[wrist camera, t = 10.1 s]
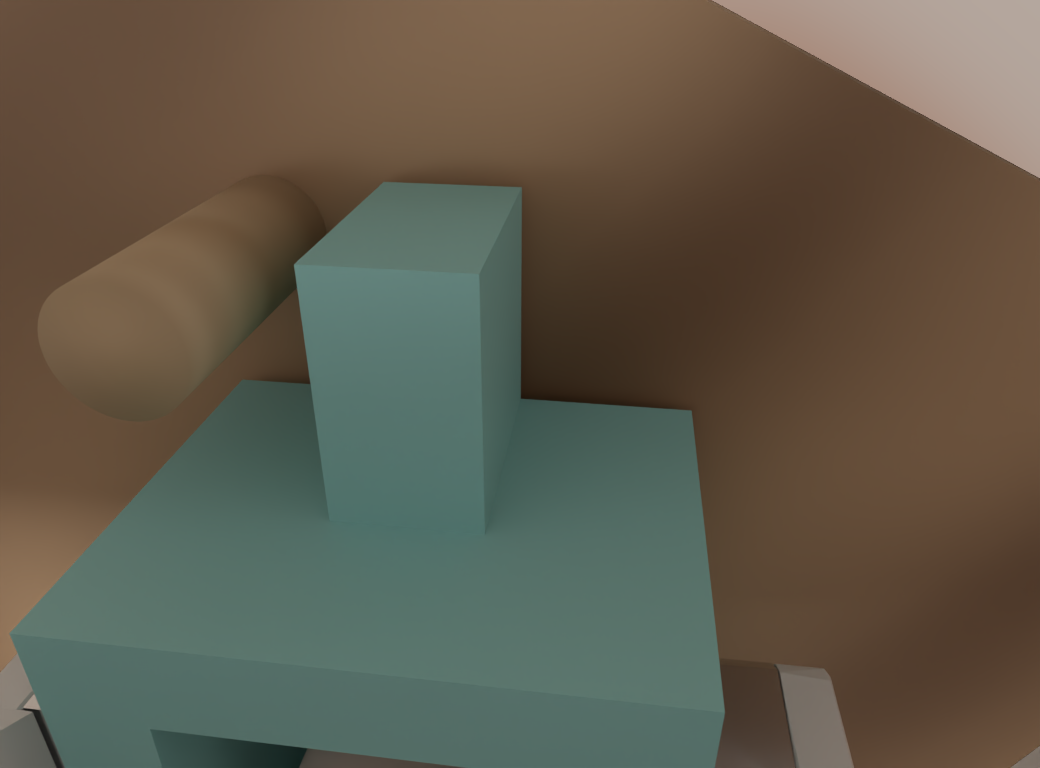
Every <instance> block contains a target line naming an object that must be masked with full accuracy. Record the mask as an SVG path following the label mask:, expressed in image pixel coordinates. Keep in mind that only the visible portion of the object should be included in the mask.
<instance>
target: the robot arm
mask: <svg viewBox="0 0 1040 768" xmlns="http://www.w3.org/2000/svg"><path fill="white" fill-rule="evenodd" d="M719 663H720V672H721V681H722V690H723V699H724V708H725V715H724V721H723V726H722V731H721V737H720V742H719V747H718V753H717V758H716V763H715V768H854V766H853V762H852V758H851V754H850V750H849V746H848V743H847V739H846V735H845V731H844V727H843V723H842V719H841V716H840V712H839V708H838V704H837V700H836V696H835V692H834V688H833V685H832V681H831V677H830V676H829V674H828V673H827V672H826V670H825V669H823V668H813V667H803V666H793V665H783V664H774V665H773V664H772V663H766V662H756V661H745V660H735V659H724V658H719ZM0 768H65V767H64V764H63V762H62V759H61V757H60V755H59V752H58V750H57V747H56V745H55V742H54V740H53V738H52V735H51V733H50V730H49V728H48V726H47V723H46V721H45V718H44V716H43V714H42V711H41V709H40V706H39V704H38V702H37V699H36V697H35V694H34V692H33V690H32V687H31V685H30V682H29V680H28V677H27V675H26V673H25V670H24V668H23V665H22V663H21V661H20V658H19V656H18V653H17V654H16V655H15V656H14V658H13V659H12V660H11V661H10V662H9V663H8V664H7V665H6V667H5V668H4V669H3V670H2V671H1V672H0Z"/></svg>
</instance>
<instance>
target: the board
mask: <svg viewBox="0 0 1040 768" xmlns="http://www.w3.org/2000/svg"><path fill="white" fill-rule="evenodd" d="M383 182H400V183H426V184H451V185H477V186H503V187H522V265H521V399H532V400H546V401H561V402H575V403H590V404H604V405H619V406H633V407H648V408H662V409H676V410H691V411H692V418H693V427H694V436H695V445H696V454H697V463H698V473H699V482H700V491H701V500H702V509H703V518H704V527H705V536H706V545H707V554H708V563H709V572H710V581H711V590H712V599H713V608H714V618H715V627H716V636H717V645H718V654H719V658H724V659H735V660H745V661H756V662H766V663H772V664H773V665H774V664H783V665H793V666H803V667H813V668H823V669H825V670H826V672H827V673H828V674H829V676H830V677H831V681H832V685H833V688H834V692H835V696H836V700H837V704H838V708H839V712H840V716H841V719H842V723H843V727H844V731H845V735H846V739H847V743H848V746H849V750H850V754H851V758H852V762H853V766H854V768H1010V767H1012V766H1013V765H1014V764H1016V763H1017V762H1018V761H1020V760H1021V759H1022V758H1024V757H1025V756H1026V755H1028V754H1029V753H1031V752H1032V751H1033V750H1035V749H1036V748H1037V747H1039V746H1040V178H1038V177H1036V176H1034V175H1032V174H1030V173H1029V172H1027V171H1025V170H1023V169H1021V168H1019V167H1018V166H1016V165H1014V164H1012V163H1010V162H1008V161H1007V160H1004V159H1003V158H1001V157H999V156H997V155H995V154H993V153H992V152H990V151H988V150H986V149H984V148H982V147H981V146H979V145H977V144H975V143H973V142H971V141H970V140H968V139H966V138H964V137H962V136H961V135H959V134H957V133H955V132H953V131H951V130H949V129H948V128H946V127H944V126H942V125H940V124H938V123H937V122H935V121H933V120H931V119H929V118H927V117H926V116H924V115H922V114H920V113H918V112H916V111H914V110H913V109H911V108H909V107H907V106H905V105H903V104H901V103H900V102H898V101H896V100H894V99H892V98H891V97H889V96H886V95H885V94H883V93H881V92H879V91H878V90H876V89H874V88H872V87H870V86H868V85H866V84H865V83H863V82H861V81H859V80H857V79H856V78H853V77H852V76H850V75H848V74H846V73H844V72H843V71H841V70H839V69H837V68H835V67H833V66H832V65H830V64H828V63H826V62H824V61H822V60H821V59H819V58H817V57H815V56H813V55H811V54H809V53H808V52H806V51H804V50H802V49H800V48H798V47H796V46H795V45H793V44H791V43H789V42H787V41H786V40H783V39H782V38H780V37H778V36H776V35H774V34H773V33H771V32H769V31H767V30H765V29H763V28H762V27H760V26H758V25H756V24H754V23H752V22H751V21H748V20H746V19H745V18H743V17H741V16H739V15H738V14H736V13H734V12H732V11H730V10H728V9H727V8H725V7H723V6H721V5H719V4H717V3H716V2H714V1H712V0H0V672H1V671H2V670H3V669H4V668H5V667H6V665H7V664H8V663H9V662H10V661H11V660H12V659H13V658H14V656H15V655H16V654H17V651H16V649H15V646H14V644H13V641H12V639H11V637H10V634H9V633H10V632H11V631H12V630H13V629H14V628H15V627H16V626H17V625H18V624H19V622H20V621H21V620H22V619H23V618H24V617H25V616H26V615H27V614H28V613H29V612H30V610H31V609H32V608H33V607H34V606H35V605H36V604H37V603H38V602H39V601H40V600H41V598H42V597H43V596H44V595H45V594H46V593H47V592H48V591H49V590H50V589H51V588H52V586H53V585H54V584H55V583H56V582H57V581H58V580H59V579H60V578H61V577H62V576H63V575H64V573H65V572H66V571H67V570H68V569H69V568H70V567H71V566H72V565H73V564H74V563H75V561H76V560H77V559H78V558H79V557H80V556H81V555H82V554H83V553H84V552H85V551H86V549H87V548H88V547H89V546H90V545H91V544H92V543H93V542H94V541H95V540H96V539H97V537H98V536H99V535H100V534H101V533H102V532H103V531H104V530H105V529H106V528H107V527H108V525H109V524H110V523H111V522H112V521H113V520H114V519H115V518H116V517H117V516H118V515H119V513H120V512H121V511H122V510H123V509H124V508H125V507H126V506H127V505H128V504H129V503H130V502H131V500H132V499H133V498H134V497H135V496H136V495H137V494H138V493H139V492H140V491H141V490H142V488H143V487H144V486H145V485H146V484H147V483H148V482H149V481H150V480H151V479H152V478H153V476H154V475H155V474H156V473H157V472H158V471H159V470H160V469H161V468H162V467H163V466H164V464H165V463H166V462H167V461H168V460H169V459H170V458H171V457H172V456H173V455H174V454H175V452H176V451H177V450H178V449H179V448H180V447H181V446H182V445H183V444H184V443H185V442H186V441H187V439H188V438H189V437H190V436H191V435H192V434H193V433H194V432H195V431H196V430H197V429H198V427H199V426H200V425H201V424H202V423H203V422H204V421H205V420H206V419H207V418H208V417H209V415H210V414H211V413H212V412H213V411H214V410H215V409H216V408H217V407H218V406H219V405H220V403H221V402H222V401H223V400H224V399H225V398H226V397H227V396H228V395H229V394H230V393H231V391H232V390H233V389H234V388H235V387H236V386H237V385H238V384H239V383H240V382H241V381H242V380H257V381H271V382H286V383H300V384H310V377H309V370H308V363H307V355H306V348H305V341H304V334H303V326H302V319H301V312H300V305H299V298H298V290H297V283H296V276H295V269H294V264H295V263H296V262H297V261H298V260H299V259H300V258H301V257H303V256H304V255H305V254H306V253H307V252H308V251H309V250H310V249H311V248H312V247H313V246H315V245H316V244H317V243H318V242H319V241H320V240H321V239H322V238H323V237H324V236H325V235H326V234H328V233H329V232H330V231H331V230H332V229H333V228H334V227H335V226H336V225H337V224H338V223H340V222H341V221H342V220H343V219H344V218H345V217H346V216H347V215H348V214H349V213H350V212H352V211H353V210H354V209H355V208H356V207H357V206H358V205H359V204H360V203H361V202H362V201H363V200H365V199H366V198H367V197H368V196H369V195H370V194H371V193H372V192H373V191H374V190H375V189H377V188H378V187H379V186H380V185H381V184H382V183H383ZM299 768H465V767H457V766H449V765H440V764H432V763H424V762H416V761H408V760H400V759H391V758H383V757H375V756H367V755H359V754H350V753H342V752H334V751H326V750H318V749H310V748H307V750H306V752H305V755H304V757H303V760H302V762H301V764H300V767H299Z"/></svg>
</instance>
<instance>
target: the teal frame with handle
mask: <svg viewBox="0 0 1040 768" xmlns="http://www.w3.org/2000/svg"><path fill="white" fill-rule="evenodd" d="M521 265H522V187H503V186H477V185H451V184H426V183H400V182H383V183H382V184H381V185H380V186H379V187H378V188H377V189H375V190H374V191H373V192H372V193H371V194H370V195H369V196H368V197H367V198H366V199H365V200H363V201H362V202H361V203H360V204H359V205H358V206H357V207H356V208H355V209H354V210H353V211H352V212H350V213H349V214H348V215H347V216H346V217H345V218H344V219H343V220H342V221H341V222H340V223H338V224H337V225H336V226H335V227H334V228H333V229H332V230H331V231H330V232H329V233H328V234H326V235H325V236H324V237H323V238H322V239H321V240H320V241H319V242H318V243H317V244H316V245H315V246H313V247H312V248H311V249H310V250H309V251H308V252H307V253H306V254H305V255H304V256H303V257H301V258H300V259H299V260H298V261H297V262H296V263H295V264H294V269H295V276H296V283H297V290H298V298H299V305H300V312H301V319H302V326H303V334H304V341H305V348H306V355H307V363H308V370H309V377H310V384H300V383H286V382H271V381H257V380H242V381H241V382H240V383H239V384H238V385H237V386H236V387H235V388H234V389H233V390H232V391H231V393H230V394H229V395H228V396H227V397H226V398H225V399H224V400H223V401H222V402H221V403H220V405H219V406H218V407H217V408H216V409H215V410H214V411H213V412H212V413H211V414H210V415H209V417H208V418H207V419H206V420H205V421H204V422H203V423H202V424H201V425H200V426H199V427H198V429H197V430H196V431H195V432H194V433H193V434H192V435H191V436H190V437H189V438H188V439H187V441H186V442H185V443H184V444H183V445H182V446H181V447H180V448H179V449H178V450H177V451H176V452H175V454H174V455H173V456H172V457H171V458H170V459H169V460H168V461H167V462H166V463H165V464H164V466H163V467H162V468H161V469H160V470H159V471H158V472H157V473H156V474H155V475H154V476H153V478H152V479H151V480H150V481H149V482H148V483H147V484H146V485H145V486H144V487H143V488H142V490H141V491H140V492H139V493H138V494H137V495H136V496H135V497H134V498H133V499H132V500H131V502H130V503H129V504H128V505H127V506H126V507H125V508H124V509H123V510H122V511H121V512H120V513H119V515H118V516H117V517H116V518H115V519H114V520H113V521H112V522H111V523H110V524H109V525H108V527H107V528H106V529H105V530H104V531H103V532H102V533H101V534H100V535H99V536H98V537H97V539H96V540H95V541H94V542H93V543H92V544H91V545H90V546H89V547H88V548H87V549H86V551H85V552H84V553H83V554H82V555H81V556H80V557H79V558H78V559H77V560H76V561H75V563H74V564H73V565H72V566H71V567H70V568H69V569H68V570H67V571H66V572H65V573H64V575H63V576H62V577H61V578H60V579H59V580H58V581H57V582H56V583H55V584H54V585H53V586H52V588H51V589H50V590H49V591H48V592H47V593H46V594H45V595H44V596H43V597H42V598H41V600H40V601H39V602H38V603H37V604H36V605H35V606H34V607H33V608H32V609H31V610H30V612H29V613H28V614H27V615H26V616H25V617H24V618H23V619H22V620H21V621H20V622H19V624H18V625H17V626H16V627H15V628H14V629H13V630H12V631H11V632H10V633H9V634H10V637H11V639H12V641H13V644H14V646H15V649H16V651H17V653H18V656H19V658H20V661H21V663H22V665H23V668H24V670H25V673H26V675H27V677H28V680H29V682H30V685H31V687H32V690H33V692H34V694H35V697H36V699H37V702H38V704H39V706H40V709H41V711H42V714H43V716H44V718H45V721H46V723H47V726H48V728H49V730H50V733H51V735H52V738H53V740H54V742H55V745H56V747H57V750H58V752H59V755H60V757H61V759H62V762H63V764H64V767H65V768H299V767H300V764H301V762H302V760H303V757H304V755H305V752H306V750H307V748H310V749H318V750H326V751H334V752H342V753H350V754H359V755H367V756H375V757H383V758H391V759H400V760H408V761H416V762H424V763H432V764H440V765H449V766H457V767H465V768H715V763H716V758H717V753H718V747H719V742H720V737H721V731H722V726H723V721H724V715H725V708H724V699H723V690H722V681H721V672H720V663H719V654H718V645H717V636H716V627H715V618H714V608H713V599H712V590H711V581H710V572H709V563H708V554H707V545H706V536H705V527H704V518H703V509H702V500H701V491H700V482H699V473H698V463H697V454H696V445H695V436H694V427H693V418H692V411H691V410H676V409H662V408H648V407H633V406H619V405H604V404H590V403H575V402H561V401H546V400H532V399H521Z"/></svg>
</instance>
